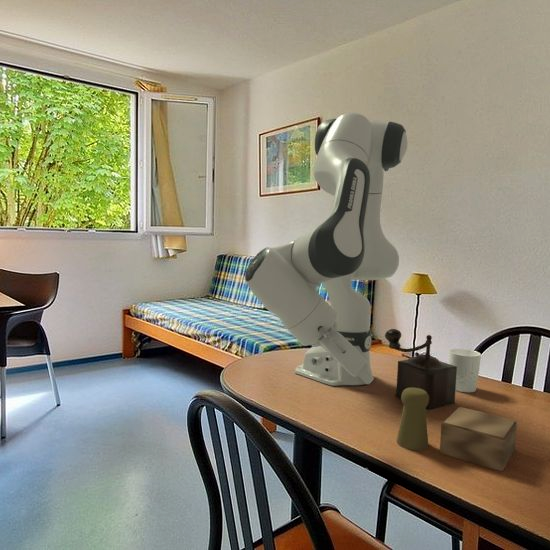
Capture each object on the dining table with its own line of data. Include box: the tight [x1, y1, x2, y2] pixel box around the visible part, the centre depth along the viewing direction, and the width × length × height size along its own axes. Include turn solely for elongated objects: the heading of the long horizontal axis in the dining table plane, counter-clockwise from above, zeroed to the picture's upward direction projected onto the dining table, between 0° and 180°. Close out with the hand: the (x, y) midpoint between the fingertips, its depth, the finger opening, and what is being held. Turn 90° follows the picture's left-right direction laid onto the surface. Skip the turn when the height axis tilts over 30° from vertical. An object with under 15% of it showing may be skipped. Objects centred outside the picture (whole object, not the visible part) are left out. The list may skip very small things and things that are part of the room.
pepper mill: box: [384, 328, 457, 411], centre depth 117 cm, size 16×11×18 cm
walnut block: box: [439, 406, 518, 472], centre depth 91 cm, size 11×11×6 cm
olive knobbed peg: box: [396, 388, 429, 452], centre depth 93 cm, size 6×6×11 cm
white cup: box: [448, 348, 482, 393], centre depth 128 cm, size 8×8×10 cm
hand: (361, 372), depth 91 cm, fingers open, 8 cm apart
